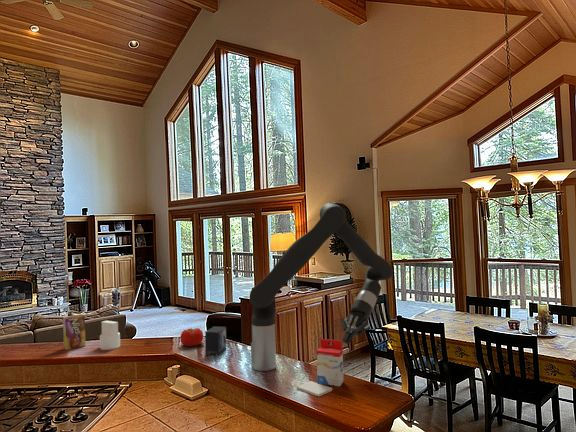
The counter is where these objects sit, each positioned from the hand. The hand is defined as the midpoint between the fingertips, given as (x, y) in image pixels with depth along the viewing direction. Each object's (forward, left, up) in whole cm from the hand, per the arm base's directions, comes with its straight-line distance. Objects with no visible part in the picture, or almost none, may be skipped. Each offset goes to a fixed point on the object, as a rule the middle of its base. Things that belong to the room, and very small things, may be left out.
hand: (345, 342), depth 156 cm
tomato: (-81, -16, -12) cm, 84 cm away
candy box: (-122, -56, -12) cm, 135 cm away
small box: (-62, -15, -12) cm, 65 cm away
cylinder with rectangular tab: (-109, -44, -12) cm, 118 cm away
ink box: (0, -9, -12) cm, 15 cm away
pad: (0, -17, -12) cm, 21 cm away
